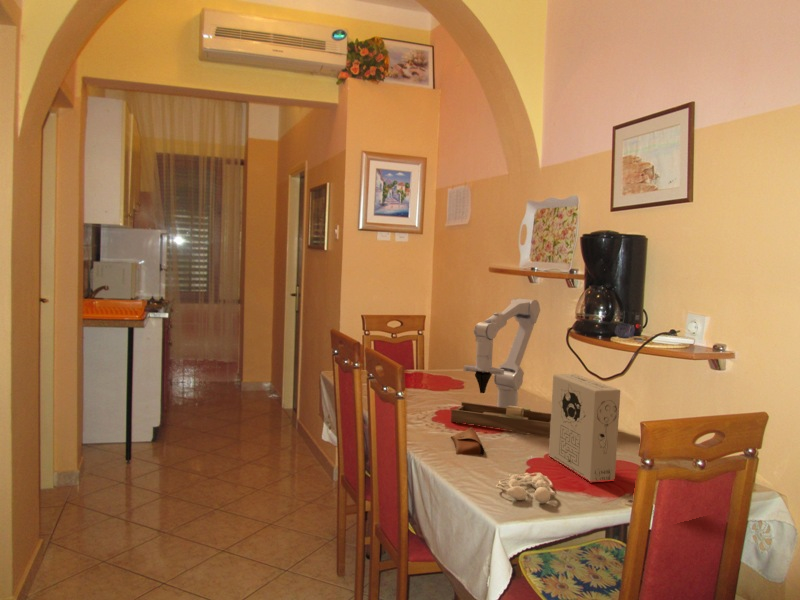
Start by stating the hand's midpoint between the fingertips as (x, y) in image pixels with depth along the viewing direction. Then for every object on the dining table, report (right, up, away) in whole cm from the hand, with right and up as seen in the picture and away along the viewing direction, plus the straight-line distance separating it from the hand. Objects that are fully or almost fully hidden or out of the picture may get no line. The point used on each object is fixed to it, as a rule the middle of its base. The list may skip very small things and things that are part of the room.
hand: (482, 392), depth 223 cm
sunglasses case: (-9, -12, -32) cm, 35 cm away
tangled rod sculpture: (+2, -15, -67) cm, 68 cm away
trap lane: (+6, -10, -7) cm, 14 cm away
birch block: (+10, -8, -9) cm, 15 cm away
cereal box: (+21, -14, -49) cm, 55 cm away
